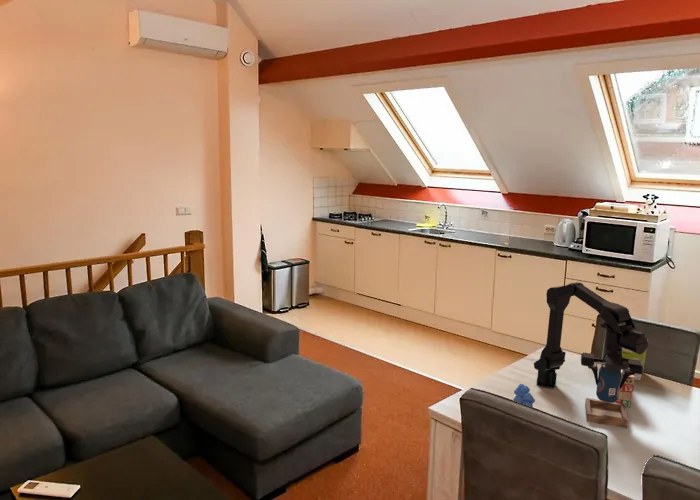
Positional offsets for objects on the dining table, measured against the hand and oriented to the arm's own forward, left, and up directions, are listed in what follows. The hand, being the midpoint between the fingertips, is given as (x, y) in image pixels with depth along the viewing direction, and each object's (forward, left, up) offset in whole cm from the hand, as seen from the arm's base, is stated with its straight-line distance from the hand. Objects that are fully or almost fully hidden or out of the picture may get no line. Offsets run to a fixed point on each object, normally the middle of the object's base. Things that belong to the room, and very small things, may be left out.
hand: (608, 386), depth 185 cm
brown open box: (0, 0, -11) cm, 11 cm away
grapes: (-26, -11, -11) cm, 30 cm away
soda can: (0, 0, -5) cm, 5 cm away
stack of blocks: (+5, +20, -11) cm, 23 cm away
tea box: (+9, +43, -11) cm, 45 cm away
